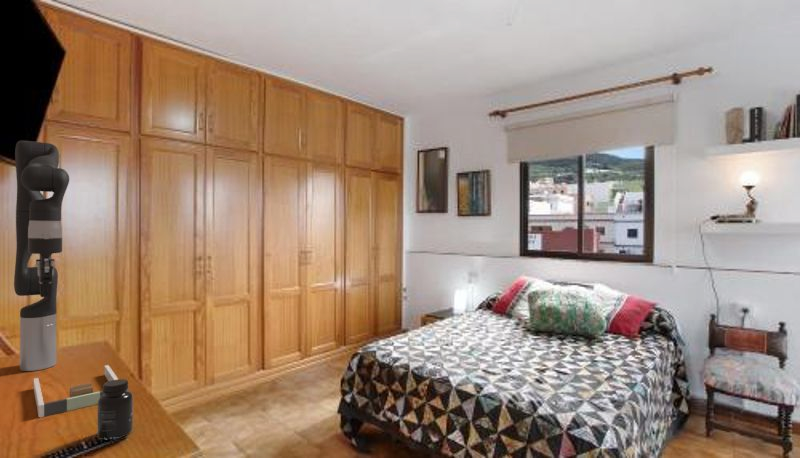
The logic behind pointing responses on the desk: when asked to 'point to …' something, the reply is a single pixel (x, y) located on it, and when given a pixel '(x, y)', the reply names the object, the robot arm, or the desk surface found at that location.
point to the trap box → (61, 405)
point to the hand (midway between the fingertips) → (45, 296)
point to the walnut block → (81, 389)
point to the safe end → (82, 401)
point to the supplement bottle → (115, 410)
